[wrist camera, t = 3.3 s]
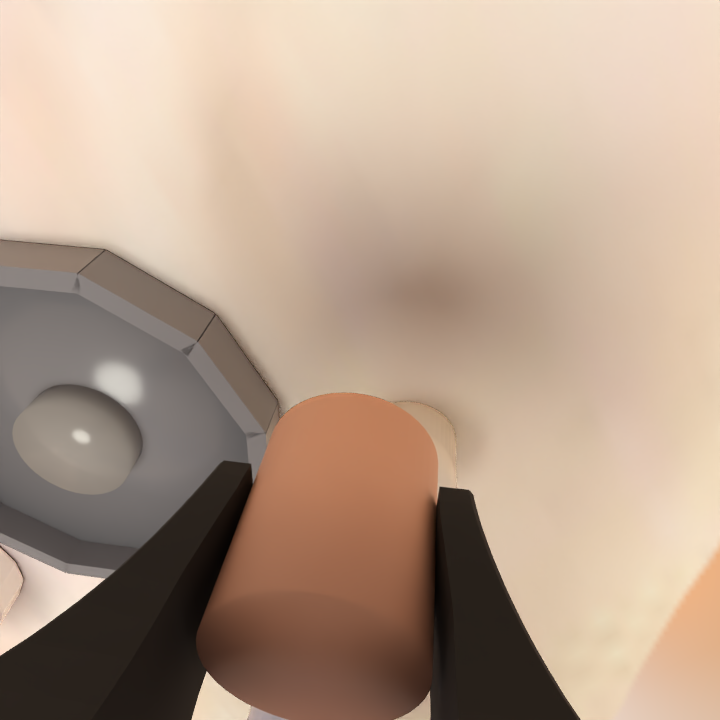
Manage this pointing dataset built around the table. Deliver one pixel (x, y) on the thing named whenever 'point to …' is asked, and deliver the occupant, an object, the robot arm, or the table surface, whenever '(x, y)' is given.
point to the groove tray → (111, 405)
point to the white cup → (8, 583)
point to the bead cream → (437, 439)
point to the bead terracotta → (331, 568)
